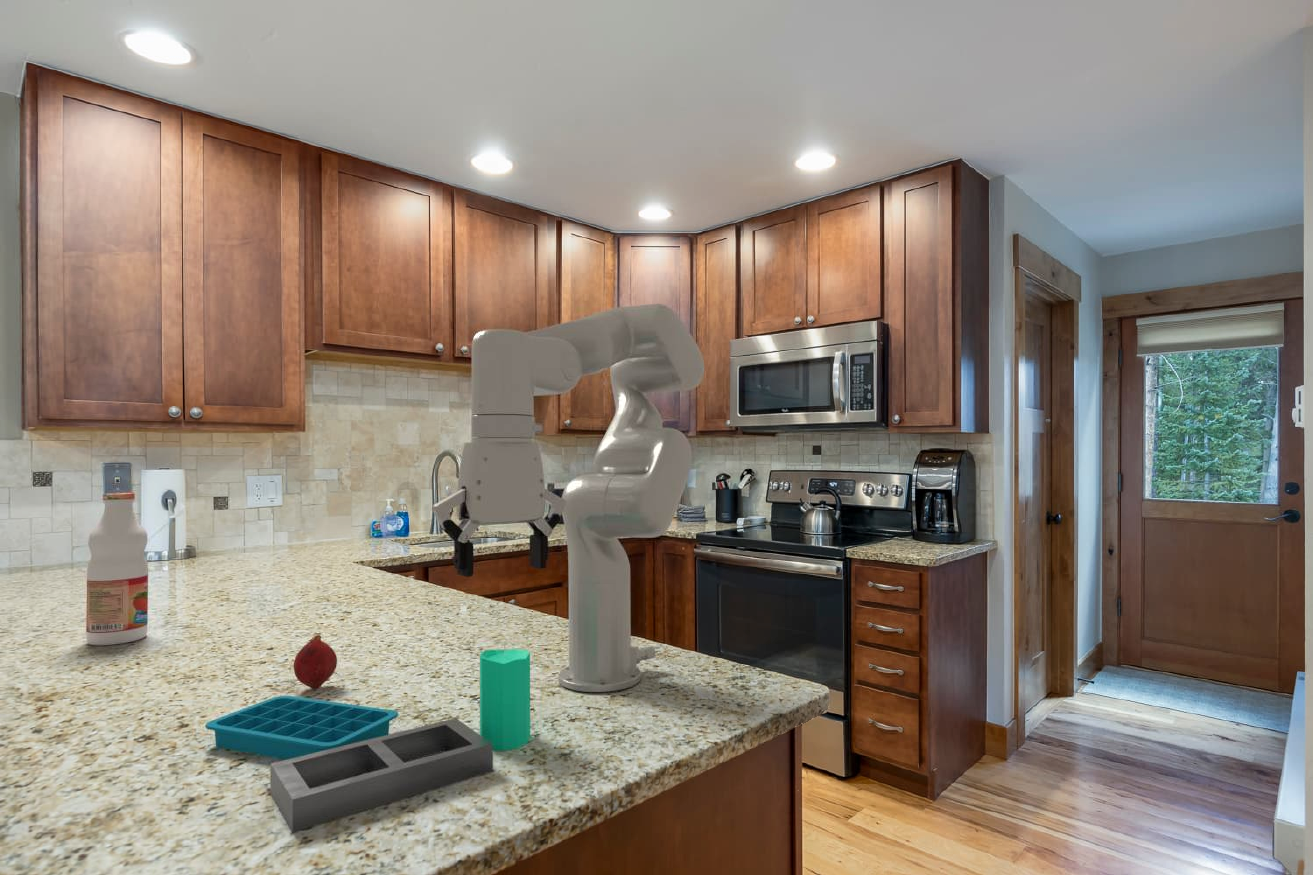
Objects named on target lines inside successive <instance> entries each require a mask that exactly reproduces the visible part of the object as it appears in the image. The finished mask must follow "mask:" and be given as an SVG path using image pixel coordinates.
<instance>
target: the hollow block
mask: <svg viewBox="0 0 1313 875" xmlns="http://www.w3.org/2000/svg"><path fill="white" fill-rule="evenodd" d="M493 772H494V750H493V744H492V743H491V742H489V741H488V740H487V739H485V738H484V737H482V736H481V735H480V733H478V732H476V731H475V730H474V729H472V728H470V727H469V726H468V725H466V724H465V723H463V722H462V721H460V720H459V719H457V717H455V718H451V719H446V720H443V721H439V722H435V723H431V724H427V725H422V726H418V727H414V728H411V729H407V730H403V731H399V732H394V733H388V735H385V736H381V737H377V738H373V739H369V740H365V741H361V742H357V743H353V744H349V745H345V746H341V747H336V748H332V749H328V750H324V751H320V752H316V753H312V754H308V755H304V756H300V757H296V758H292V759H288V760H285V759H282V760H280V761H276V762H273V763H270V773H269V774H270V782H269V783H270V784H269V786H270V789H269V790H270V795H271V797H272V798H273V800H274V802H275V804H276V806H277V805H278V806H277V808H278V807H279V808H278V809H279V811H280V813H281V814H282V816H284V817H283V818H284V820H285V821H286V824H287V825H288V827H289V829H290V831H291V832H292V833H296V832H299V831H302V830H305V829H308V828H312V827H314V826H319V825H322V824H325V823H328V822H331V821H335V820H337V819H342V818H345V817H347V816H351V815H354V814H358V813H361V812H364V811H367V810H368V811H369V810H371V809H374V808H376V807H381V806H385V805H387V804H390V803H394V802H397V801H401V800H405V799H407V798H410V797H411V798H412V797H413V796H417V795H421V794H423V793H427V792H430V791H434V790H437V789H440V788H443V787H446V786H450V785H453V784H457V783H459V782H463V781H466V780H469V779H472V778H476V777H479V776H482V775H486V774H489V773H493ZM312 787H313V788H312Z"/></svg>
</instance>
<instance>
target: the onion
mask: <svg viewBox="0 0 1313 875" xmlns="http://www.w3.org/2000/svg"><path fill="white" fill-rule="evenodd" d="M321 639H322V636H321V635H320V634H315V635H313V636H312V637H311V639H310V640H309V641H308V642H307V643H306V644H305V645H303V646H302V648H300V650H299V651H298V652H297V654H296V656H295V657H294V661H293V671H294V672H293V673H294V675H295V677H296V679H297V680H298V681H299V682H300V683H301V684H302V685H304V686H305V687H308V688H311V689H312V690H317V689H319V688H321V687H322V685H324V683H325V682H327V681H328V680H329V679H330V678H331V677H332V676H333V675H334V673H335V671H336V669H337V663H338V660H337V659H338V657H337V655H336V652H335V650H334V649H333V648H332V647H331V646H330V645H329V644H328V643H326V642H324V641H323V640H321Z"/></svg>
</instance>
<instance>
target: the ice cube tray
mask: <svg viewBox="0 0 1313 875" xmlns="http://www.w3.org/2000/svg"><path fill="white" fill-rule="evenodd" d="M398 716H399V712H398V711H397V710H393V709H384V708H379V707H372V706H371V707H370V706H364V705H357V704H349V703H342V702H336V701H335V702H334V701H330V700H329V701H328V700H322V699H314V698H307V697H300V696H294V695H279V696H274V697H271V698H269V699H266V700H263V701H260V702H258V703H256V704H253V705H250V706H248V707H245V708H242V709H239V710H236V711H234V712H230V713H228V714H226V715H223V716H221V717H218V718H215V719H212V720H211V721H208V722H206V723H205V728H206V729H207V730H211V731H214V738H215V740H214V741H215V746H216V747H217V748H221V749H226V750H232V751H237V752H242V753H246V752H248V753H247V754H252V753H253V755H257V754H259V756H264V757H269V758H275V759H279V760H280V759H281V760H288V759H292V758H296V757H300V756H304V755H308V754H312V753H316V752H320V751H324V750H328V749H332V748H336V747H341V746H345V745H349V744H353V743H357V742H361V741H365V740H369V739H373V738H377V737H381V736H385V735H389V734H390V732H389V731H390V722H391V721H393V720H395V719H396V718H397V717H398Z"/></svg>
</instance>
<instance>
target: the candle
mask: <svg viewBox="0 0 1313 875" xmlns="http://www.w3.org/2000/svg"><path fill="white" fill-rule="evenodd" d="M506 642H507V641H505V640H504V645H503V646H504V647H503V649H484V650H483V651H482V652H481V653H480V654H479V735H481V736H482V737H484V738H485V739H487V740H488V741H489V742H491V743H492V744H493V751H501V752H504V751H509V750H510V751H511V750H515V749H518V748H521V747H523V746H525V745H527V744H528V743H529V741H531V652H530V651H528V650H526V649H522V648H509V649H507V648H506V644H507V643H506Z"/></svg>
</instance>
